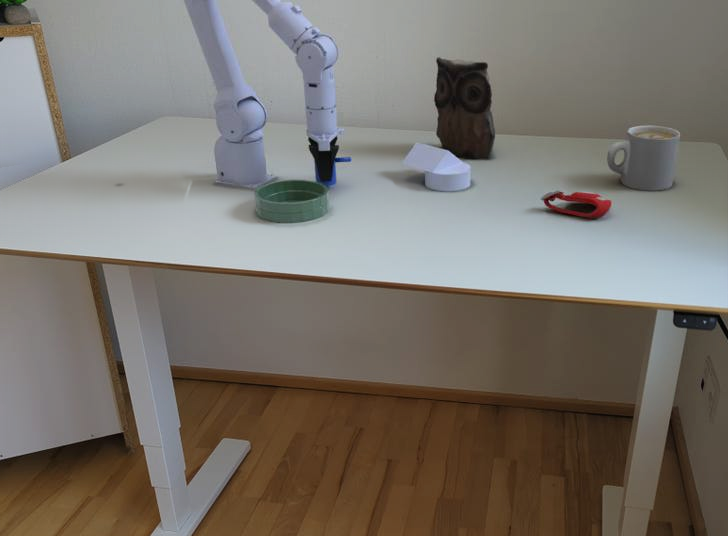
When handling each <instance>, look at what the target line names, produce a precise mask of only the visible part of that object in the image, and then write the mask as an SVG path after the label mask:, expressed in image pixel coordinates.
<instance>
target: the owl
mask: <svg viewBox="0 0 728 536" xmlns="http://www.w3.org/2000/svg"><path fill="white" fill-rule="evenodd" d="M435 61H436V66H437V73H436V84H435V86H436V90H435V93H434V98H433V101H434V106H435V109H436V110H437V115H438V116H437V128H436V133H435V134H436V137H437V138H438V139H439V142H440V144H441V149H444V150H448V151H449V152H451V153H452V154H453V155H454V156H456V157H457V158H461V159H464V160H489V159H492V152H493V147H494V144H495V139H496V130H495V124H494V116H493V113H492V110H491V108H492V104H493V101H492V97H493V90H492V85H491V84H490V75H489V73H488V68H489V64H488V62H485V61H474V60H465V59H453V60H452V59H446V58H441V56H438V57H436V60H435Z"/></svg>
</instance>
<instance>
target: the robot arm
mask: <svg viewBox="0 0 728 536" xmlns="http://www.w3.org/2000/svg"><path fill="white" fill-rule="evenodd" d="M251 1H252V2H253V3H254V4H255V5H256V6H257V7H258V8H259V9H261V11H262V12H264V13H265V14H266V15H267V18H268V19H267V22H268V27H269V28H270V29H271V30H272V31H273V33H275V35H277V37H278V38H279V39H280V41H282V42H283V43H284V44H285V45H286V46H287V47H288V48H289V50H290V51H292V53H293V54H295V56H294V59H295V62H296V65H297V67H298V68H299V69H300V71H301V73H302V80H303V91H304V106H305V108H304V109H305V116H306V117H305V118H306V131H305V133H306V136H307V137H308V138H307V140H308V142H309V144H308V151H309V152H310V155H311V156H312V158H313V161H314V160H315V163H316V166H317V170H318V174H319V178H320V181H321V182H328V181H332V176H333V167H334V161H335V158H337V154H338V152H339V150H340V146H339V144H337V142H338V136H339V135H343V134H345V129H344V128H343V127H338V112H337V98H336V97H337V95H336V94H337V93H336V80H335V66H334V65H335V64H336V62H338V58H339V49H338V46H337V44H336V42H335V41H334V39H333V37H332V36H330V35H329V34H326V33H321V30H320V29H319V28H318V27H314V25H313V24H312V23H311V22H310V20H308V19H307V17H306V16H305V15H303V13H302V10H303V9H302V8H301V7H300V5H298V4H295V5H294V4H293V3H292V2H291V1H282V0H251ZM183 3H184V5H185V9H186V10H187V13H188V16H189V19H190V21H191V24H192V27H193V29H194V32H195V34H196V38H197V39H198V42H199V45H200V48H201V50H202V51H201V52H202V54H203V56H204V59H205V62H206V64H207V67H208V70H209V72H210V75H211V78H212V80H213V83H214V86H215V88H216V91H217V92H216V96H215V98H214V101H213V108H214V111H215V117H216V118H215V123H216V127H217V129H218V132H219V133H220V136H218V138H217V139H216V140H215V143H214V147H213V149H214V150H213V152H214V153H213V154H214V161H215V167H216V175H217V180H215V183H217V184H224V185H231V186H239V187H247V188H253V189H255V188H256V189H257V188H259V187H261V186H263V185H264V184H265V183H268V182H269V181H271V180H273V179H274V178H276V176H277V175H276V174H270V173H268V172H267V164H266V154H265V153H266V152H265V144H264V129H263V128H264V127H265V126H266V124H267V121H268V111H267V109H266V106H265V105H264V104H263V103H262V101H261V100H260V99H259V98H258V95H257V93H256V90H255V89H254V88H253V87H252V86H250V85H249V84H247V83H246V81H245V78H244V76H243V73H242V71H241V68H240V65H239V62H238V59H237V56H236V53H235V50H234V48H233V46H232V43H231V40H230V37H229V34H228V31H227V29H226V26H225V23H224V20H223V18H222V15H221V12H220V9H219V6H218V3H217V1H216V0H183ZM315 163H314V164H315Z"/></svg>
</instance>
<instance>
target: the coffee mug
mask: <svg viewBox="0 0 728 536" xmlns="http://www.w3.org/2000/svg"><path fill="white" fill-rule="evenodd" d="M680 140H681V133H680V132H679V130H677V129H674V128H670V127H666V126H659V125H639V126H638V125H637V126H633V127H630V128H628V129H627V132H626V140H625V141H624V140H623V141H618V142H615V143H613V144H612V145H611V146H610V147H609V150H608V152H607V157H606V161H607V166H608V168H609V169H610V171H612V172H614V173H617V174H618V175H620V176H621V178H620V182H621V183H622V185H624V186H625V187H628V188H630V189H634V190H639V191H648V192H650V191H651V192H655V191H663V190H664V191H665V190H668V189H669V188H671V187H672V186H673V183H674V177H675V171H676V170H675V169H676V165H677V159H678V158H677V157H678V153H679V146H680ZM619 151H624V153H623V154H624V155H623V159H622V161H621V163H620V164H616V161H615V159H616V155H617V154H618V152H619Z"/></svg>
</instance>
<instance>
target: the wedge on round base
mask: <svg viewBox="0 0 728 536" xmlns="http://www.w3.org/2000/svg"><path fill="white" fill-rule="evenodd" d="M401 165H404V166H407V167H411V168H415V169H418V170H422V171H424V184H425V186H426V187H427V188H428V189H430V190H434V191H438V192H457V191H462V190H465V189H468V188H469V187H470V186H471V171H472V167H471V165H470V164H468V163H466V162H464V161H462V160H461V159H460V158H459V157H456V156H454V155H453V154H452V153H451V152H449V151H448V150H444V149H441V148H440V147H436V146H432V145H428V144H425V143H421V142H417V141H416V142H415V144H414V145H413V146H412V148H411V149H410V151H409V152H408V154H407V155H406V156H405V158H404V159H403V161H402V162H401Z"/></svg>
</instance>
